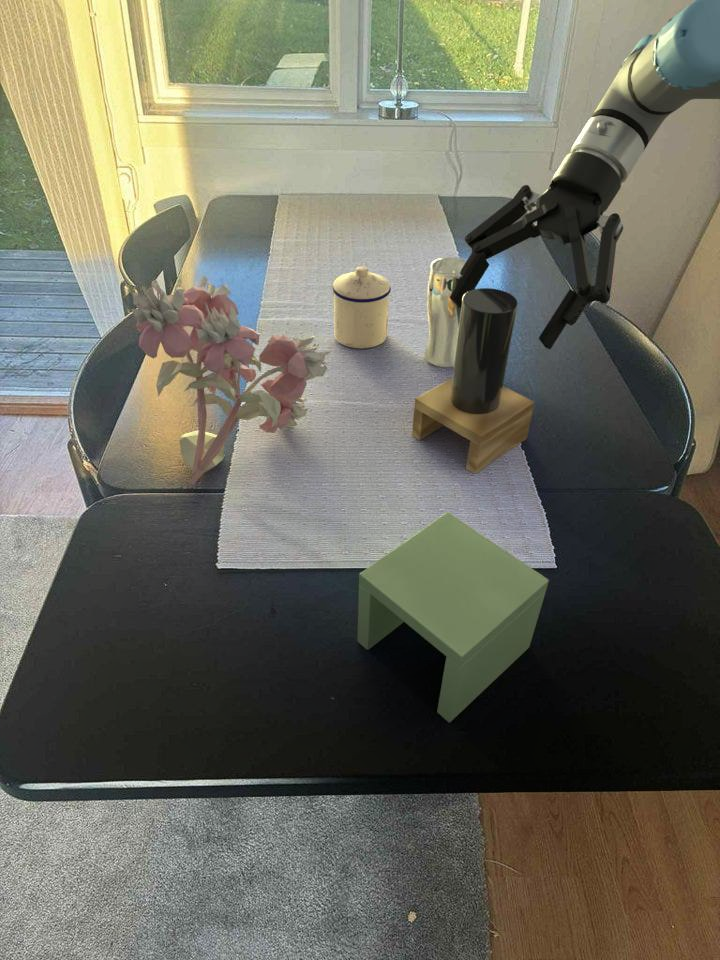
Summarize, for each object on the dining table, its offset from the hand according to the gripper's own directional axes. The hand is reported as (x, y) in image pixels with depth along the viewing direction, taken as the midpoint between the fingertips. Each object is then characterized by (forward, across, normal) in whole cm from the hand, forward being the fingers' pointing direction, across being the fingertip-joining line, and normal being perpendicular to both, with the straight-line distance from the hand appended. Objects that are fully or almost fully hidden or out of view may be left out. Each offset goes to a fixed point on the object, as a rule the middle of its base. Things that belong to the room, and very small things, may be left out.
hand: (497, 323), depth 85 cm
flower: (+29, -20, -6) cm, 35 cm away
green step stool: (+33, +20, -10) cm, 40 cm away
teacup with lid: (+8, -31, +15) cm, 35 cm away
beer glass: (+4, -16, +19) cm, 25 cm away
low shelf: (+13, 0, +10) cm, 16 cm away
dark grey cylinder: (+9, 0, +5) cm, 10 cm away
